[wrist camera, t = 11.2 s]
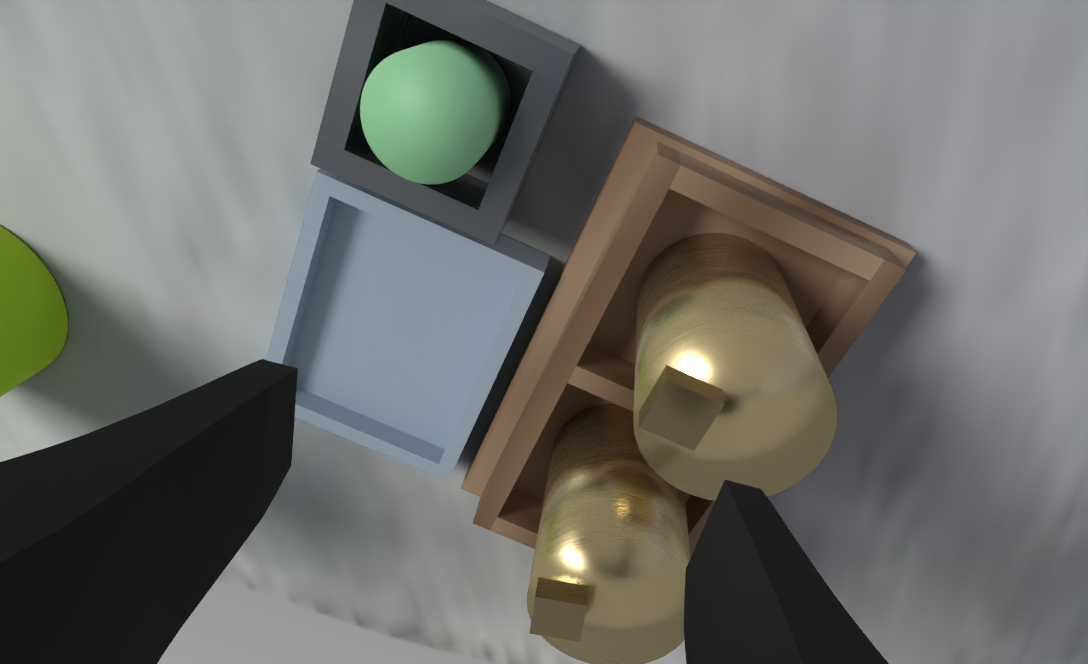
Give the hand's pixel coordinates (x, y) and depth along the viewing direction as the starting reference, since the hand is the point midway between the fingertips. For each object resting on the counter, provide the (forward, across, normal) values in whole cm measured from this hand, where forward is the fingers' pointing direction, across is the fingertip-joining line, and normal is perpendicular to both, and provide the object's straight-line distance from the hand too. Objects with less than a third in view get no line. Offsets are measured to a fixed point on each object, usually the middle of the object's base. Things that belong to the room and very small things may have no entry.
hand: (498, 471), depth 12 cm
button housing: (+10, +4, -4) cm, 11 cm away
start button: (+10, +4, -4) cm, 11 cm away
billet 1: (+9, -3, +6) cm, 11 cm away
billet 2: (+9, -4, 0) cm, 10 cm away
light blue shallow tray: (+10, +4, +3) cm, 11 cm away
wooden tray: (+10, -4, +3) cm, 11 cm away
